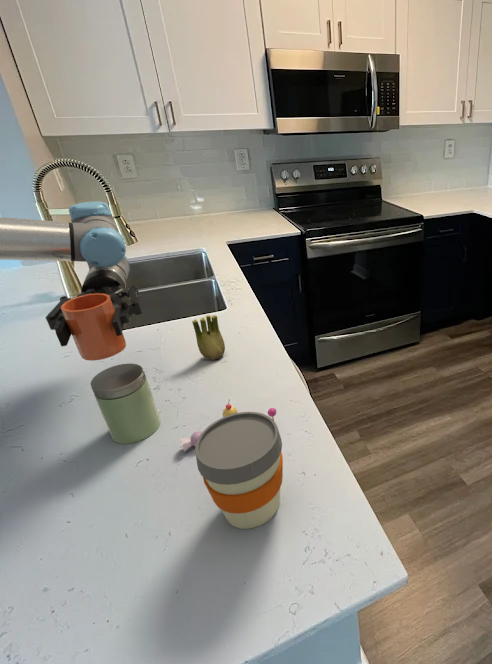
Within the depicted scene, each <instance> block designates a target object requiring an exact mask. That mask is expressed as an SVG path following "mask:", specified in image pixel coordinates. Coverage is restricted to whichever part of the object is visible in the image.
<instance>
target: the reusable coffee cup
mask: <svg viewBox="0 0 492 664" xmlns="http://www.w3.org/2000/svg"><path fill="white" fill-rule="evenodd" d="M201 432H202V433H201V435H200V436H199V438H198V440H197V443H196V447H195V446H194V447H195V449H194V451H195V460H196V466H197V470H198V472H199V473H200V476H202V479H203V483H204V485H205V488H206V489H207V491H208V493H209V495H210V497H211V499H212V500H213V502H214V504H215V506H216V507H218V509H220V510H221V512H222V513H223V515H224V517H225V519H226V521H227V522H228V523H229V524H230V525H231V526H232V527H234V528H236V529H240V530H249V529H254V528H257V527H260V526H262V525H264V524H265V523H267V522H268V521H270V520H271V519H272V518H273V517H274V516H275V514H276V513H277V511H278V510H279V506H280V501H281V487H282V484H283V477H284V475H283V473H284V472H283V471H284V470H283V467H284V466H283V465H284V464H283V463H284V462H283V461H284V459H283V453H282V448H283V441H282V440H283V439H282V437H281V434H280V431H279V427H278V425H277V423H276V421H275V419H274V420H273V419H272V417H271V416H269V415H268V414H265V413H262V412H257V411H241V412H237V413H235V414H231V415H228V416H225V417H223V416H222V417H221V418H219V419H217V420H215V421H214V422H212V423H211V424H209V425H208V426H207V427H206V428H205V429H204V430H202V431H201Z"/></svg>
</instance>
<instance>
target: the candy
mask: <svg viewBox="0 0 492 664" xmlns="http://www.w3.org/2000/svg"><path fill="white" fill-rule="evenodd" d="M230 400H231V399H230V398H228V403H227V404H226V405H225V408H224V409H223V410H222V418H223V417H225V416H228V415H231V414H235V413H238V410H237V408H236V407H234V406H233V405H232V404H231V403H230ZM276 415H277V410H276V408H274V407H270V408H268V410H267V416H269V417H270V418H272V419H273V420H274V421H275V416H276ZM202 432H203V431H194V432H193V433H192V434H191V436H190V438H187V437H180V441H181V444H182V448H183V451H184V452H186V451H188V450H189V449H190V448H191V447H192V446H193V447H196V443H197V440H198V438H199V436H200V435H201V433H202Z"/></svg>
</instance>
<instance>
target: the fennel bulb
mask: <svg viewBox="0 0 492 664" xmlns="http://www.w3.org/2000/svg"><path fill="white" fill-rule="evenodd" d="M191 322H192V323H191V324H192V325H193V329H194V333H195V338H196V344H197V348H198V350H199V353H200V354H201V355H202V357H203V358H204V359H208V360H212V361H214V360H219V359H221V358H222V357H223V355H224V354H225V351H226V345H225V340H224V337H223V335H222V333H221V330H220V327H219V321H218V316H217V315H215V314H213V315H208V314H207V315H205V317H201V318H200V319H199V321H198V320H197V319H196V318H195V319H193V320H192V321H191ZM199 322H200V324H199ZM200 327H201V328H200Z"/></svg>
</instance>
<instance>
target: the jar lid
mask: <svg viewBox="0 0 492 664" xmlns="http://www.w3.org/2000/svg"><path fill="white" fill-rule="evenodd" d="M145 376H146V373H145V371H144V369H143V367H142V366H141V365H140V364H137V363H121V364H120V363H119V364H117V365H112V366H110V367H107V368H105V369H103V370H101V371H100V372H98V373H97V374H96V375H95V376H94V377H93V378H92V379H91V381H90V387H91V390H92V392H93V395H94V394H95V395H96V397H99V398H102V399H113V398H118V397H122V396H125V395H128V394H130V393H132V392H134V391H136V390H137V389H138V388H140V387H141V386H142V385H143V384H144V382H145V379H146V378H147V376H146V377H145Z"/></svg>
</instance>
